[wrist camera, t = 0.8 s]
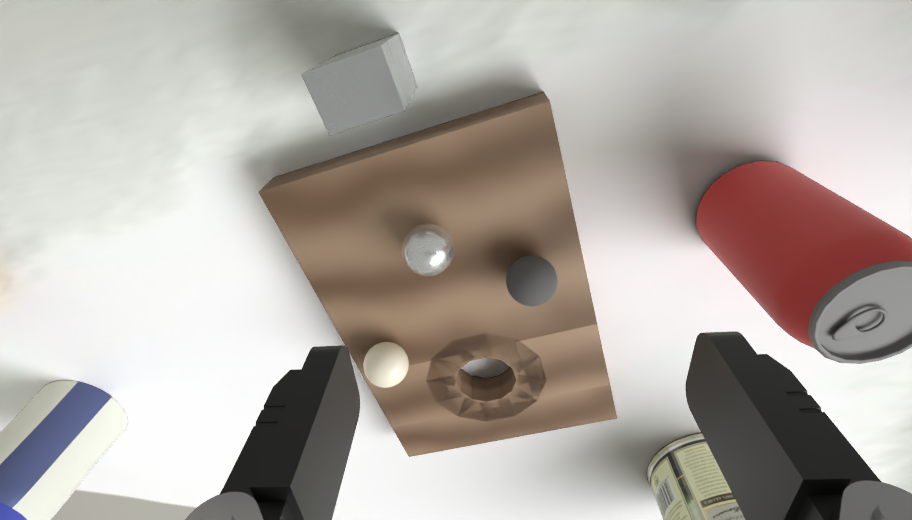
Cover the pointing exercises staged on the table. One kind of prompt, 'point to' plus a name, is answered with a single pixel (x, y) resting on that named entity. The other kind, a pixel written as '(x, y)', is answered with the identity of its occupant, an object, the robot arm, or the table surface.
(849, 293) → the beer can
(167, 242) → the table surface
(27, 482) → the white and blue vase
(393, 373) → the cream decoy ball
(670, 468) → the coffee can
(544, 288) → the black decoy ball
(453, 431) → the deck
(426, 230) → the steel ball
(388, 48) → the grey steel block
